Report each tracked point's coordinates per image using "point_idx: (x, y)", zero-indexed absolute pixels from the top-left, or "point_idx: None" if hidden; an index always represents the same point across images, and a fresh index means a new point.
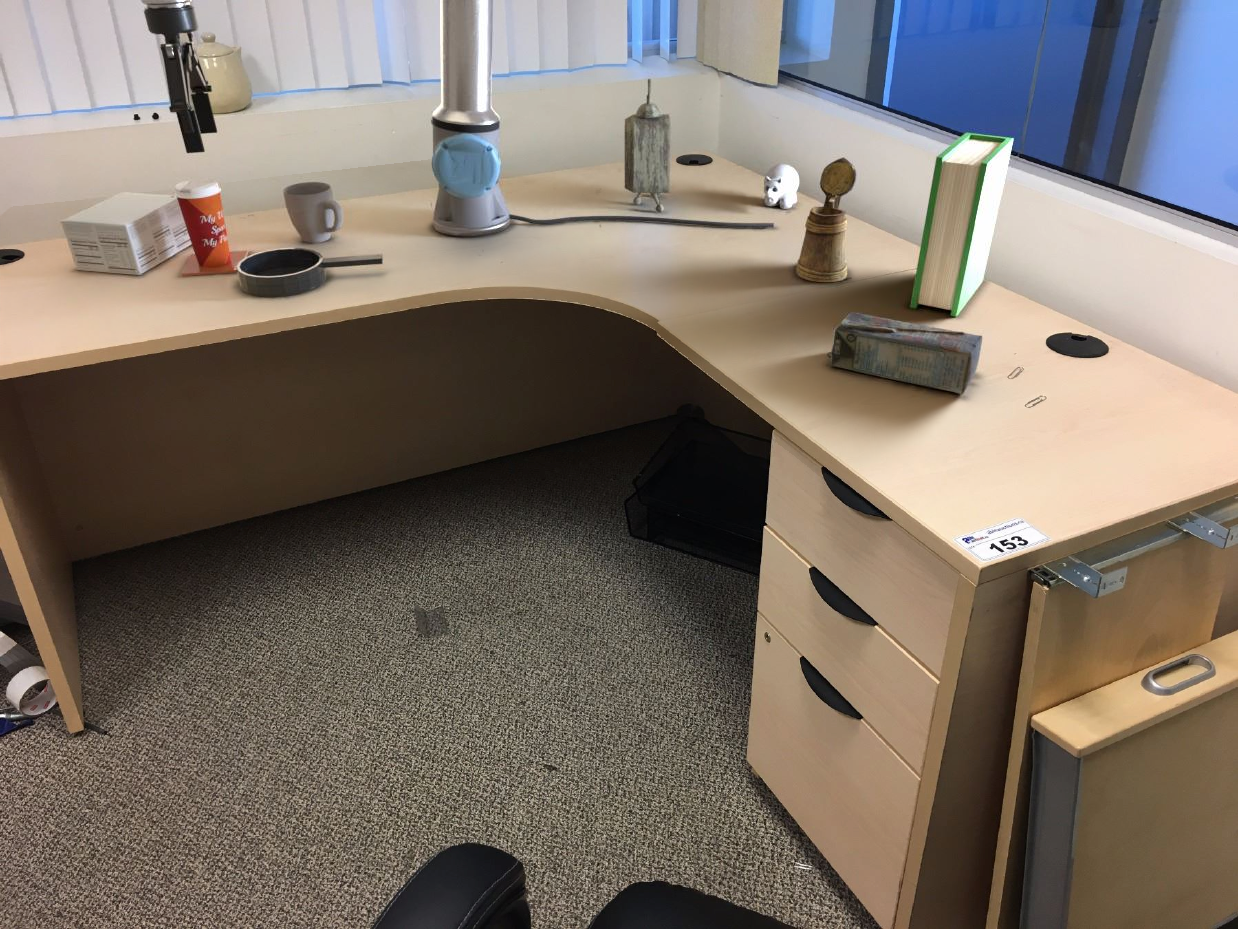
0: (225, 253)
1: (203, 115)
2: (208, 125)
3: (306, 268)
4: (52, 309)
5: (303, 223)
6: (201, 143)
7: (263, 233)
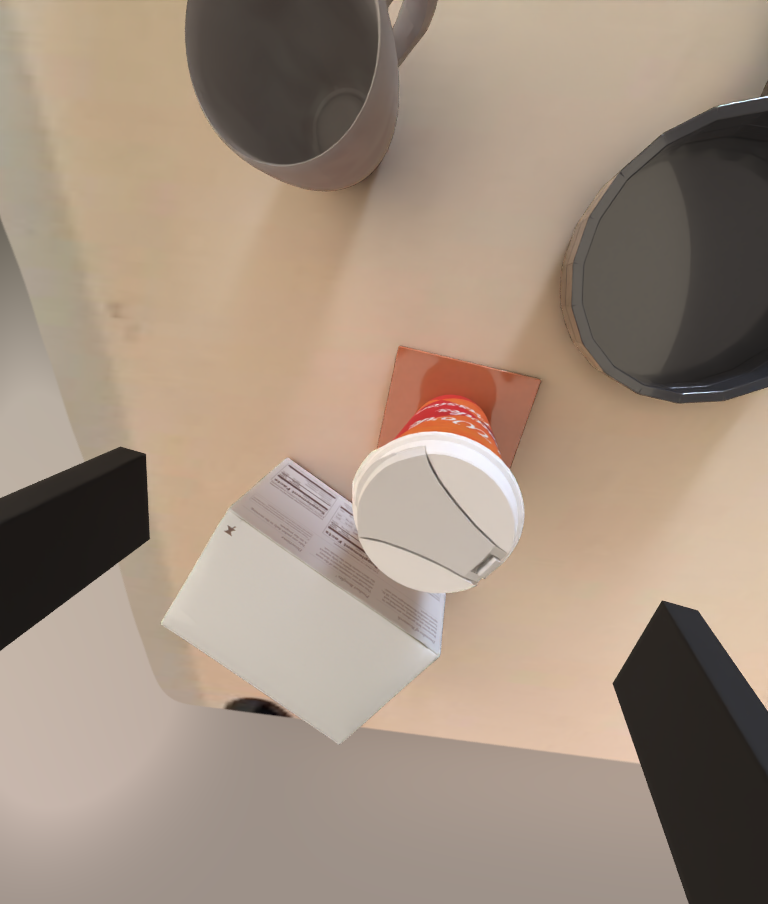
0: (481, 411)
1: (41, 570)
2: (107, 513)
3: (631, 189)
4: (558, 706)
5: (387, 145)
6: (735, 665)
7: (258, 292)
